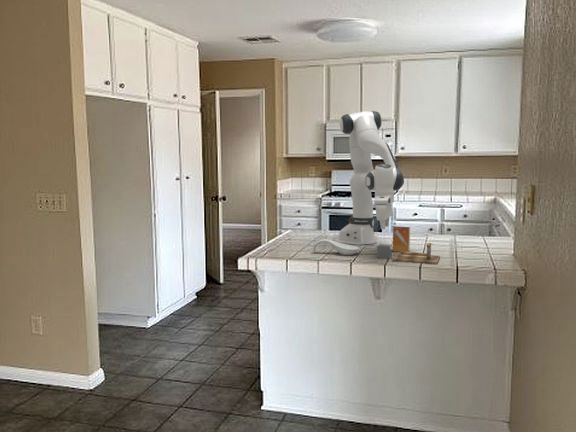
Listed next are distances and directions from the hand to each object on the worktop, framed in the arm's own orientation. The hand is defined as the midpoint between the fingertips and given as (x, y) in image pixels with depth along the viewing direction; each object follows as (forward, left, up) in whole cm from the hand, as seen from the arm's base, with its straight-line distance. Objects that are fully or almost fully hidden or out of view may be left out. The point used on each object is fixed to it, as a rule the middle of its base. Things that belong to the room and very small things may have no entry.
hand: (384, 227), depth 247 cm
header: (+15, 0, -14) cm, 21 cm away
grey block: (0, 0, -15) cm, 15 cm away
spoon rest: (-25, +2, -15) cm, 29 cm away
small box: (+5, +19, -15) cm, 25 cm away
